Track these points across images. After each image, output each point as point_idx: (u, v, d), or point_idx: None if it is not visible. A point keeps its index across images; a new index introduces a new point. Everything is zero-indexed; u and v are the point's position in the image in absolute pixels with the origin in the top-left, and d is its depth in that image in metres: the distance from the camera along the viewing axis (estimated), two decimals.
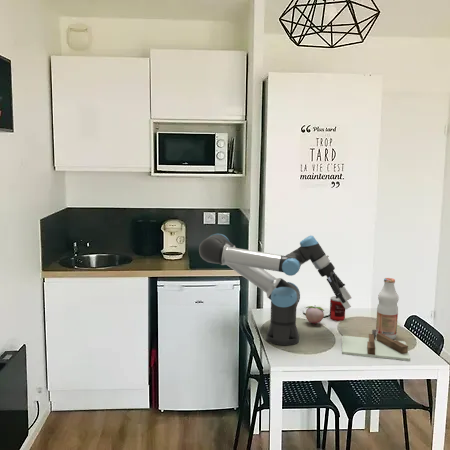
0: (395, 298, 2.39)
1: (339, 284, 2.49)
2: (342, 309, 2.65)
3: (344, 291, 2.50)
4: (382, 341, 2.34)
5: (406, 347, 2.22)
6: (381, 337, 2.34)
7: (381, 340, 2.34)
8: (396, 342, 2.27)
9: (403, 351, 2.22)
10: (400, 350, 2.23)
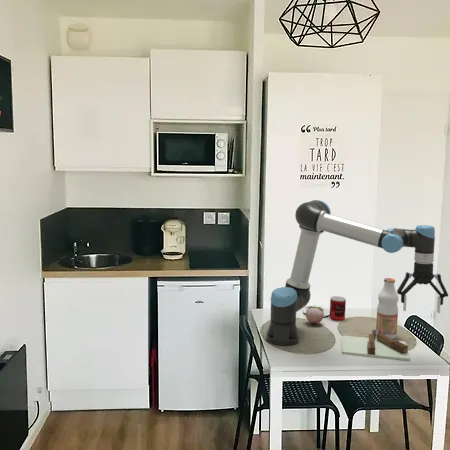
0: (395, 298, 2.39)
1: None
2: (342, 309, 2.65)
3: (438, 302, 2.18)
4: (382, 341, 2.34)
5: (406, 347, 2.22)
6: (381, 337, 2.34)
7: (381, 340, 2.34)
8: (396, 342, 2.27)
9: (403, 351, 2.22)
10: (400, 350, 2.23)
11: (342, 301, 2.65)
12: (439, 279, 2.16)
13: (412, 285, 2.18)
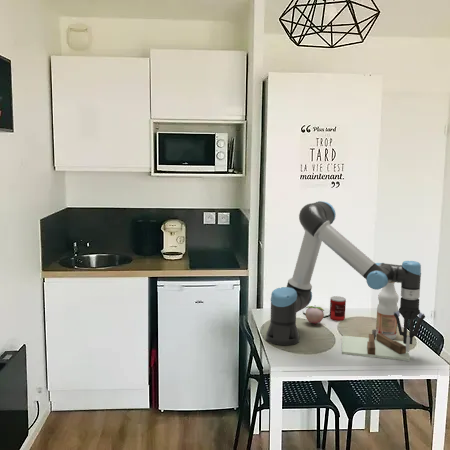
0: (395, 298, 2.39)
1: None
2: (342, 309, 2.65)
3: None
4: (381, 341, 2.33)
5: (404, 347, 2.22)
6: (380, 337, 2.34)
7: (380, 340, 2.34)
8: (395, 342, 2.26)
9: (401, 351, 2.22)
10: (398, 350, 2.22)
11: (342, 301, 2.65)
12: (421, 319, 2.18)
13: (405, 323, 2.20)
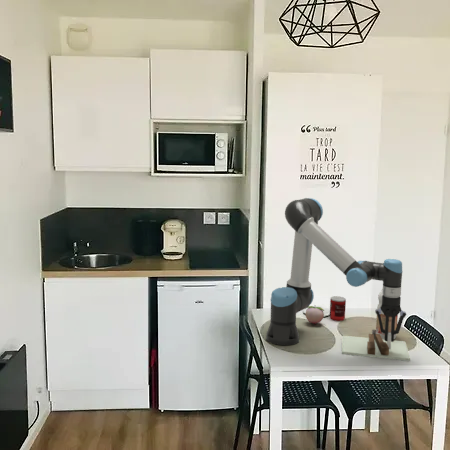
0: None
1: (391, 327, 2.23)
2: (342, 309, 2.65)
3: None
4: (376, 341, 2.33)
5: (387, 349, 2.20)
6: (376, 337, 2.34)
7: (376, 340, 2.34)
8: (382, 343, 2.25)
9: (383, 352, 2.20)
10: (381, 351, 2.21)
11: (342, 301, 2.65)
12: (402, 316, 2.20)
13: (387, 321, 2.22)
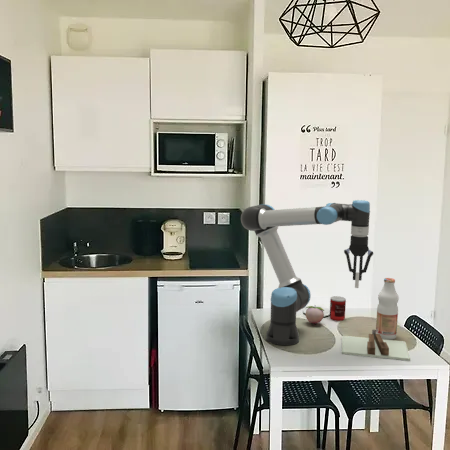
0: (395, 298, 2.39)
1: (359, 266, 2.31)
2: (342, 309, 2.65)
3: None
4: (376, 341, 2.33)
5: (387, 349, 2.20)
6: (376, 337, 2.34)
7: (376, 340, 2.34)
8: (382, 343, 2.25)
9: (383, 352, 2.20)
10: (381, 351, 2.21)
11: (342, 301, 2.65)
12: (369, 255, 2.28)
13: (355, 260, 2.30)
